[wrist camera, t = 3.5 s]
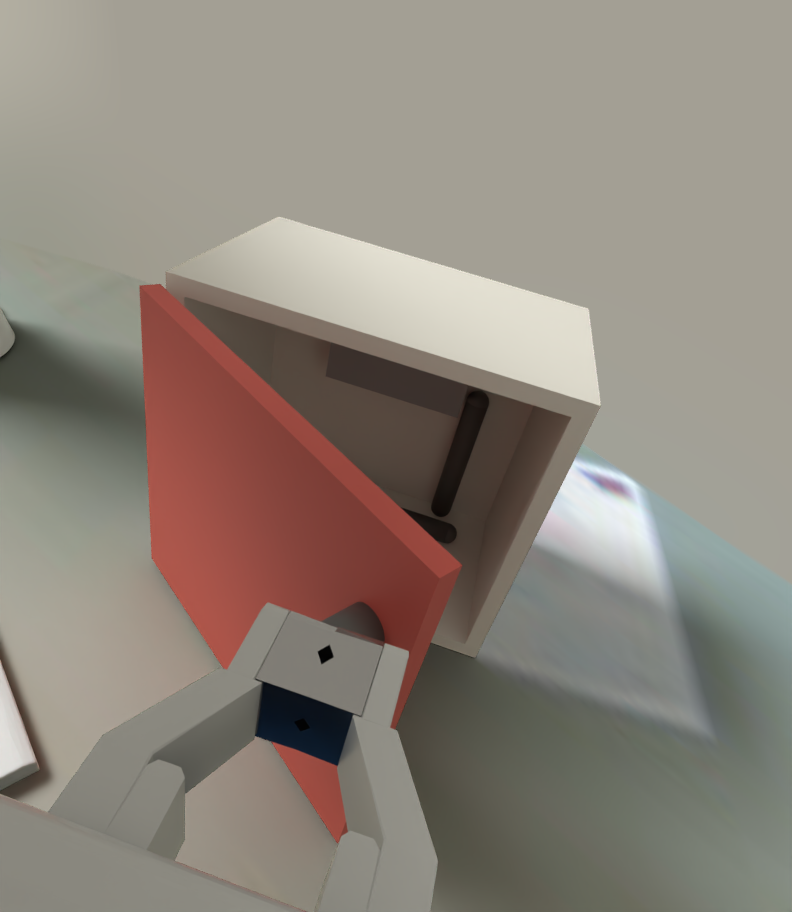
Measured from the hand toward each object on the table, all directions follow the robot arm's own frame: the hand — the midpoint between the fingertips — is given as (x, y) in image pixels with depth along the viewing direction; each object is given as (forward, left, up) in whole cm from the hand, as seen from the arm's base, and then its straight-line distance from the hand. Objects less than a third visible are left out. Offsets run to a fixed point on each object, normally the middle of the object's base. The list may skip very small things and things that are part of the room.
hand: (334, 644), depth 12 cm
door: (-5, +12, -21) cm, 25 cm away
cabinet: (+1, +25, -22) cm, 33 cm away
